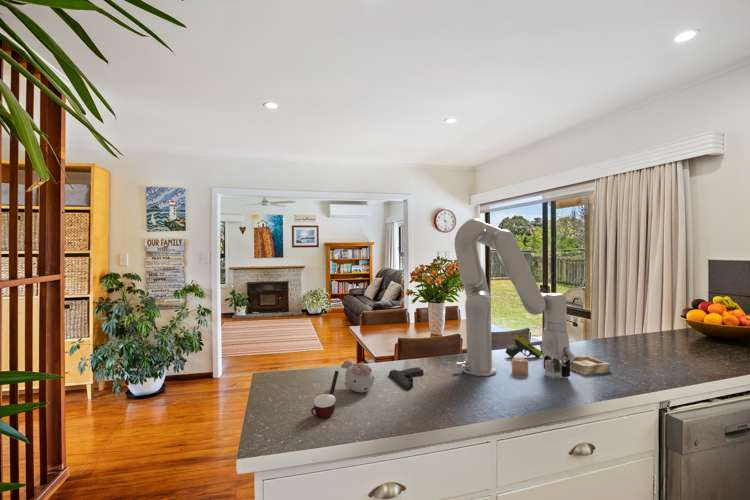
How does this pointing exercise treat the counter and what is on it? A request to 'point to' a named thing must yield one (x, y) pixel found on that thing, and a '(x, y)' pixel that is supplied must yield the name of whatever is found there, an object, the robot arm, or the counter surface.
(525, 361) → the tan square block
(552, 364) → the housing
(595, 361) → the wooden tray
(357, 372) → the toy
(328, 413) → the cocoa
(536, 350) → the toy gun
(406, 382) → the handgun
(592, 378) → the counter surface
